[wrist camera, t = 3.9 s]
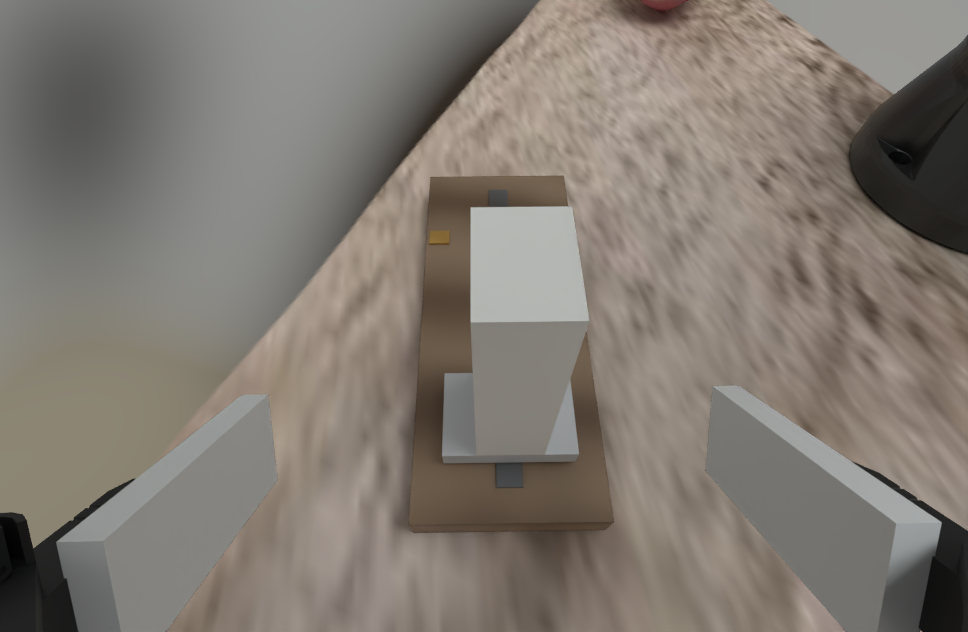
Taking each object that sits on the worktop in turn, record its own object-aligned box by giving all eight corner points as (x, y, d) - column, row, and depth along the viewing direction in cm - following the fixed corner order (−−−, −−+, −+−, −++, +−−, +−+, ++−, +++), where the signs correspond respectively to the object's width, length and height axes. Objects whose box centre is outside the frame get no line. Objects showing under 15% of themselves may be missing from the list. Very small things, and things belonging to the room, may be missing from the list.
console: (604, 530, 24) (614, 520, 22) (413, 532, 24) (407, 524, 22) (559, 197, 35) (564, 173, 34) (433, 198, 35) (430, 174, 34)
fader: (575, 461, 23) (648, 320, 13) (443, 463, 23) (410, 323, 13) (566, 381, 25) (622, 205, 15) (446, 382, 25) (419, 207, 15)
